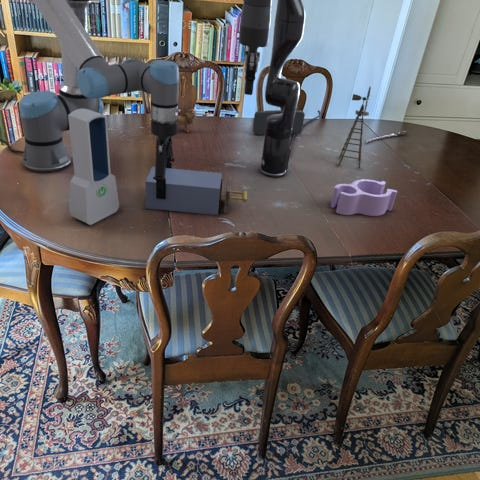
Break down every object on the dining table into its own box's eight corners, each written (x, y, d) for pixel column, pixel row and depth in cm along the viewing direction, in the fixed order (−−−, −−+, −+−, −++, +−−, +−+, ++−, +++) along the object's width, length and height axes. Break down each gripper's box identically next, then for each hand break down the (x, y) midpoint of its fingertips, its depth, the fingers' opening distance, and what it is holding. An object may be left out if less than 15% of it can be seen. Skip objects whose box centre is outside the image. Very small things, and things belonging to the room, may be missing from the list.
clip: (342, 219, 146) (347, 199, 142) (324, 200, 156) (328, 181, 152) (396, 213, 152) (402, 195, 148) (375, 196, 162) (380, 178, 158)
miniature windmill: (359, 169, 181) (379, 91, 164) (338, 165, 182) (355, 87, 165) (359, 160, 188) (378, 84, 172) (338, 156, 189) (355, 81, 173)
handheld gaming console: (299, 131, 211) (303, 109, 205) (302, 133, 208) (305, 111, 203) (251, 133, 203) (254, 110, 198) (254, 135, 201) (256, 112, 196)
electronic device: (87, 227, 129) (77, 121, 112) (68, 218, 132) (56, 113, 115) (120, 210, 138) (114, 110, 122) (101, 202, 141) (94, 103, 125)
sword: (403, 131, 224) (404, 129, 223) (408, 133, 222) (409, 131, 221) (360, 143, 208) (360, 140, 207) (365, 145, 206) (366, 142, 205)
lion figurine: (194, 127, 202) (194, 107, 197) (197, 132, 198) (198, 111, 193) (160, 128, 197) (160, 107, 192) (163, 133, 193) (163, 112, 188)
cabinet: (220, 198, 150) (222, 173, 145) (217, 215, 141) (219, 188, 136) (152, 192, 149) (152, 166, 145) (145, 208, 140) (145, 181, 136)
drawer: (245, 199, 149) (248, 179, 145) (245, 214, 141) (247, 193, 137) (165, 191, 149) (165, 171, 145) (160, 206, 141) (160, 185, 137)
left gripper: (171, 135, 121) (170, 209, 133) (183, 108, 141) (181, 174, 153) (142, 132, 121) (144, 206, 133) (158, 105, 141) (158, 172, 152)
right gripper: (270, 30, 112) (262, 102, 121) (269, 22, 123) (261, 88, 132) (239, 27, 112) (233, 99, 121) (241, 19, 123) (235, 86, 132)
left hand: (164, 189), depth 143 cm, fingers closed on cabinet, 11 cm apart
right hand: (248, 93), depth 127 cm, fingers closed
